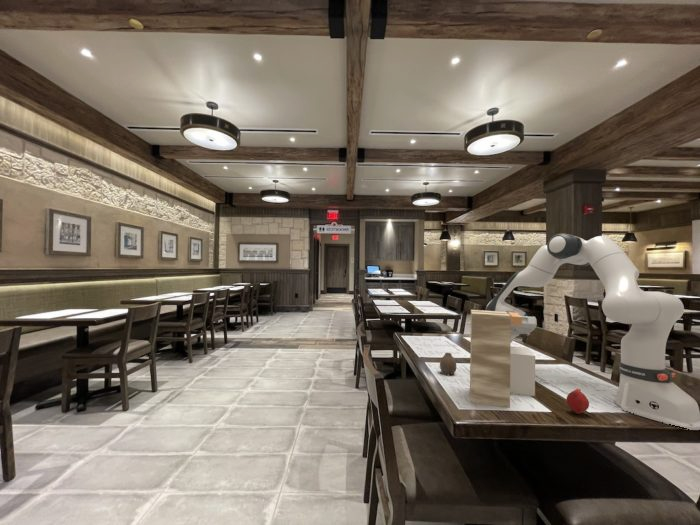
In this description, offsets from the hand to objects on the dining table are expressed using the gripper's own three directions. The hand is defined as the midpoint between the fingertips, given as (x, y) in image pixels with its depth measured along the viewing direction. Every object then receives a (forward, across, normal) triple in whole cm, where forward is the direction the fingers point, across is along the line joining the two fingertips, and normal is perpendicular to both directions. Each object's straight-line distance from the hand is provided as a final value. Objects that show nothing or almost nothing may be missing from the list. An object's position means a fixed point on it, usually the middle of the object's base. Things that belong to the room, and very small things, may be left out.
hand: (511, 314), depth 132 cm
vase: (-15, -24, +23) cm, 37 cm away
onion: (+8, +16, +36) cm, 40 cm away
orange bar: (+4, 0, +4) cm, 6 cm away
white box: (-7, 0, +27) cm, 28 cm away
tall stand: (+5, -10, +34) cm, 36 cm away
